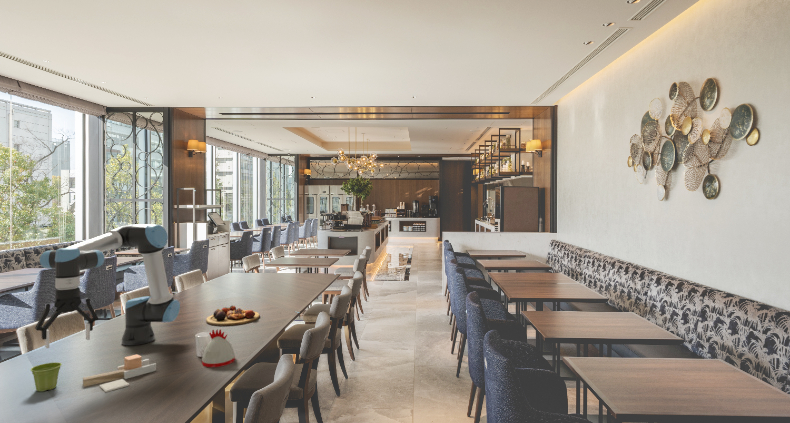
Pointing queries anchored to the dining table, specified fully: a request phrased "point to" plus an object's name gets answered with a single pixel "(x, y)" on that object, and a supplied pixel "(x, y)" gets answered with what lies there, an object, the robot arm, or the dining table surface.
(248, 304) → the dining table surface
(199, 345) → the white cup
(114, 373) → the rod
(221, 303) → the dining table surface
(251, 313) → the wooden plate with food
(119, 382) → the coaster
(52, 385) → the plant pot
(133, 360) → the block
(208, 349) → the white chicken figurine
